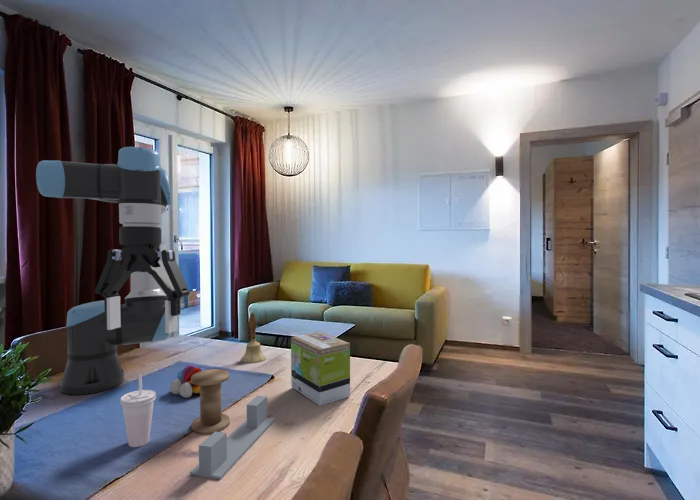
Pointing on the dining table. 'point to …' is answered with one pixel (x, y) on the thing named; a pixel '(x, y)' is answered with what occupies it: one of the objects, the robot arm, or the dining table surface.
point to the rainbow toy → (185, 382)
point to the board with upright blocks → (232, 442)
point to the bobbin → (210, 401)
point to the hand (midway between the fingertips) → (142, 330)
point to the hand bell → (253, 345)
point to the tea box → (320, 367)
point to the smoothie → (138, 414)
